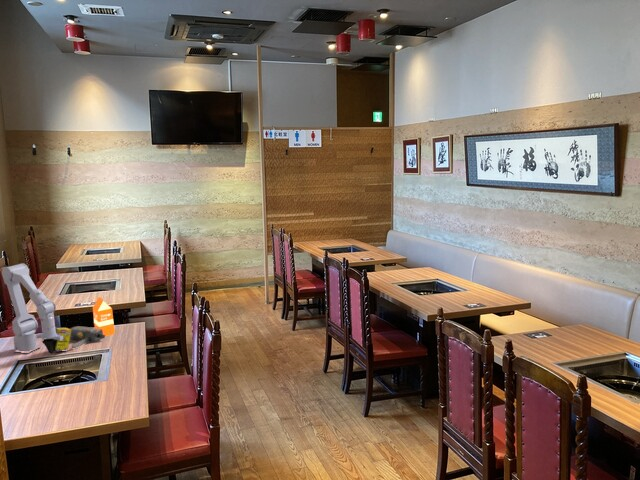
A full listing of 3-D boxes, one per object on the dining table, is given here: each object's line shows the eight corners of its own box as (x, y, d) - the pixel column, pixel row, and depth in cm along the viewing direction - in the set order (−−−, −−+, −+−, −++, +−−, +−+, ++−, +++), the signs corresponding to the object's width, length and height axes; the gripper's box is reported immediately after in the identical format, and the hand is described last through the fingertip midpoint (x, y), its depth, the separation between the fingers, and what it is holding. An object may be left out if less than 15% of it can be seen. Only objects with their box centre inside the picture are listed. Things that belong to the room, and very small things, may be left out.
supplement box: (55, 352, 243) (60, 329, 243) (49, 349, 246) (54, 327, 247) (67, 351, 248) (71, 329, 248) (61, 348, 251) (65, 327, 252)
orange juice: (109, 329, 277) (106, 295, 273) (114, 333, 270) (111, 298, 266) (94, 333, 272) (91, 298, 268) (100, 337, 265) (96, 301, 262)
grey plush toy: (50, 347, 253) (49, 336, 252) (75, 335, 269) (74, 324, 268) (84, 351, 247) (83, 340, 246) (108, 338, 263) (106, 328, 262)
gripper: (29, 328, 239) (33, 354, 241) (53, 330, 234) (57, 357, 237) (41, 323, 245) (45, 348, 248) (65, 325, 241) (68, 351, 244)
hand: (51, 352), depth 243 cm, fingers closed
